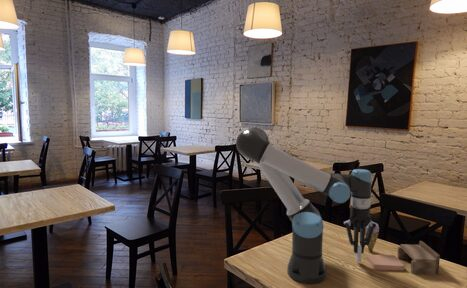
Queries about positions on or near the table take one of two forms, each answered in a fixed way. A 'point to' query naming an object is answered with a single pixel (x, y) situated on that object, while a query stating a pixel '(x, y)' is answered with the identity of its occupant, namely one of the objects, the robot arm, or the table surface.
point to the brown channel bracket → (420, 258)
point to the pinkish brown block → (385, 262)
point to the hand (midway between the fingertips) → (358, 260)
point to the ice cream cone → (372, 237)
